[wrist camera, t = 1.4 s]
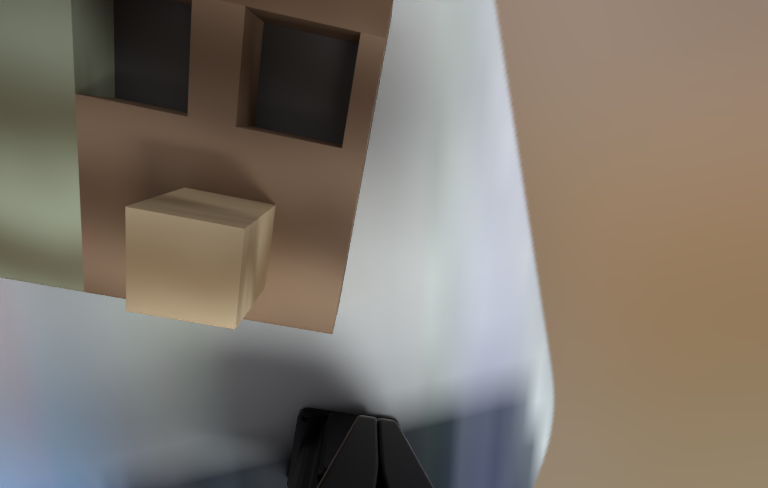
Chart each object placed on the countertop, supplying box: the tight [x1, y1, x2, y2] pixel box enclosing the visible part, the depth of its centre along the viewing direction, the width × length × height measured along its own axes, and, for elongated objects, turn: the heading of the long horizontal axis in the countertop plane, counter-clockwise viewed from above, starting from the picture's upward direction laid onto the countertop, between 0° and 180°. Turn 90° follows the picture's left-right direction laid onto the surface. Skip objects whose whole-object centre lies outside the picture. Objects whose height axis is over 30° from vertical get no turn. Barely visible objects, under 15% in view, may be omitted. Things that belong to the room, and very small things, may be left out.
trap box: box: [0, 0, 393, 334], centre depth 16 cm, size 15×18×6 cm
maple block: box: [125, 188, 276, 329], centre depth 15 cm, size 4×4×4 cm
